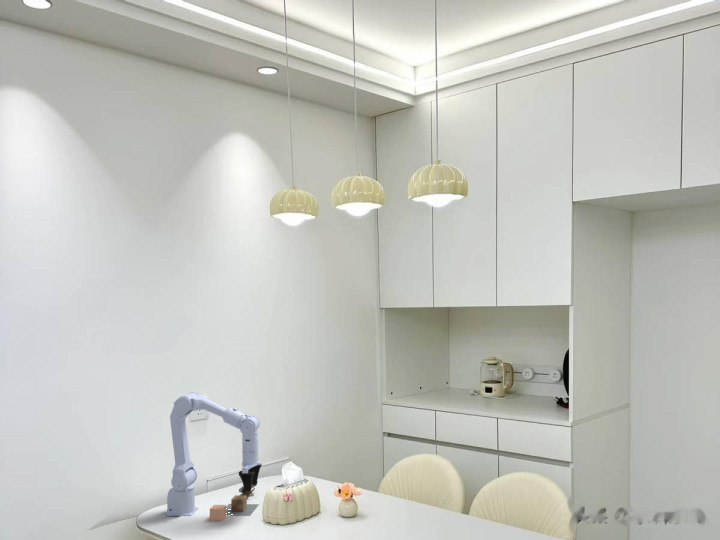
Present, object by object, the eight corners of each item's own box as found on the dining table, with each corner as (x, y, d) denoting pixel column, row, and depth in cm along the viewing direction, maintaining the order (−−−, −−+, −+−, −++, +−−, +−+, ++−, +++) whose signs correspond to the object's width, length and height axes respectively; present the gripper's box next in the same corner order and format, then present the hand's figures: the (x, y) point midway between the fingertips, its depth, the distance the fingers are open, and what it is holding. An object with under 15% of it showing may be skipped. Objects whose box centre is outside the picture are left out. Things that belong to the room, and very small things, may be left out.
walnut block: (231, 511, 225) (231, 499, 225) (235, 507, 229) (235, 495, 230) (243, 511, 225) (243, 499, 225) (246, 507, 229) (246, 495, 229)
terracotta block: (209, 521, 217) (209, 509, 217) (214, 517, 221) (214, 504, 221) (222, 522, 216) (221, 509, 216) (226, 517, 221) (226, 504, 221)
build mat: (218, 516, 222) (218, 515, 222) (228, 504, 234) (228, 503, 234) (250, 516, 220) (250, 515, 220) (259, 505, 232) (259, 504, 232)
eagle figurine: (260, 495, 240) (262, 484, 248) (250, 482, 238) (251, 471, 247) (244, 506, 239) (246, 495, 248) (234, 493, 238) (236, 482, 247)
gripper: (255, 455, 216) (255, 494, 215) (265, 445, 230) (266, 481, 230) (236, 455, 216) (236, 493, 216) (247, 445, 231) (248, 481, 230)
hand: (250, 487), depth 223 cm, fingers open, 7 cm apart
